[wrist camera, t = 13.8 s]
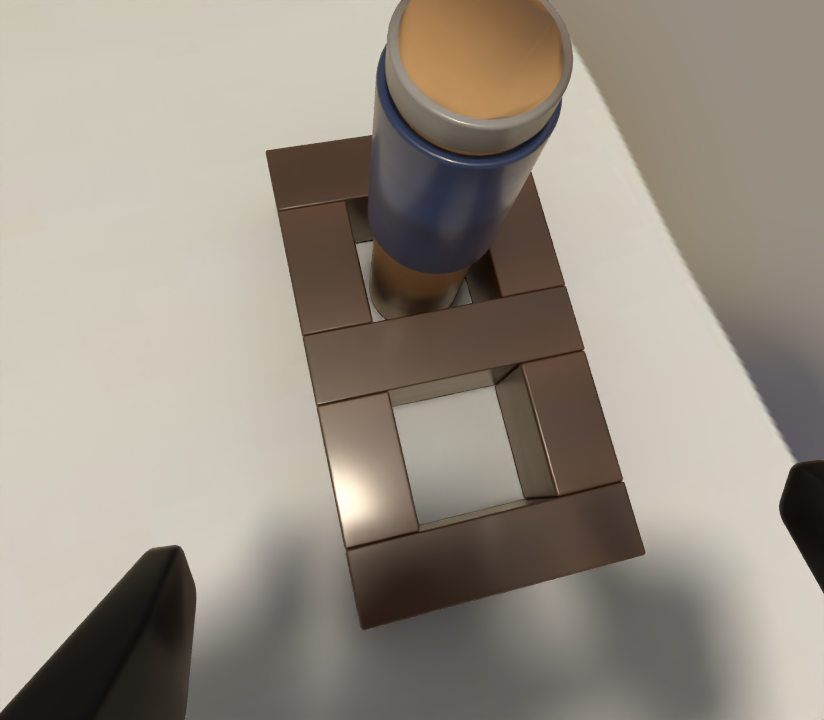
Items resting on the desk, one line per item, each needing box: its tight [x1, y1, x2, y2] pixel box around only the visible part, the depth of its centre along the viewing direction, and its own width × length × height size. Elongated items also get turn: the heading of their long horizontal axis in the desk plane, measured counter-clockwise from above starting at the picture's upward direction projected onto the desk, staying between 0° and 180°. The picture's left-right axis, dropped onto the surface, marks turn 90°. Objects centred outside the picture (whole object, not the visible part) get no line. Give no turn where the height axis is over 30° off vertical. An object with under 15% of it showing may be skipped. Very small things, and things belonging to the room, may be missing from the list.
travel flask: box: [368, 0, 573, 320], centre depth 17 cm, size 4×4×12 cm
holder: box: [266, 135, 645, 630], centre depth 21 cm, size 15×9×4 cm, turn 13°
